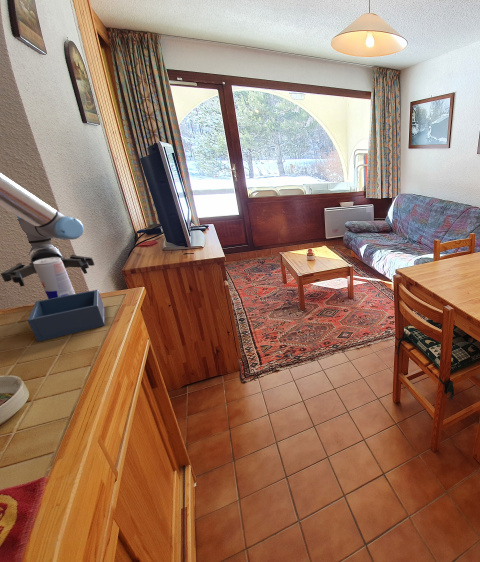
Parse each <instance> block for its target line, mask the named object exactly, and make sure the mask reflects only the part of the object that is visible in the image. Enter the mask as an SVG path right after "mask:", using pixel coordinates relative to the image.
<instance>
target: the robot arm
mask: <svg viewBox="0 0 480 562" xmlns="http://www.w3.org/2000/svg"><path fill="white" fill-rule="evenodd" d="M0 207H2V208H3V209H5V210H7V211H8V212H10V213H11V212H12V213H14V214H15V215H16V216H17V218H18V219H17V220H18V221H19V224H20V226H21V228H22V230H23V231H24V232H25V233H26V235H27V238H28V241H29V243H30V244H31V246H32V248H31V250H30V252H29V254H28V256H29V260H30V262H29V264H25V263H22V262H18V263H16V264H15V265H14V266H13V267H11V268H8V269H6V270H5V271H3V272H1V273H0V276H1V278H2V280H3V282H5V283H6V282H10V281H12V283H14V284H19V287H25V282H24V278H27V277H29V276H31V275H33V274H37V272H36V270H35V267H34V264H33V262H35V261H37V260H40V259H45V258H52V257H59V258H61V260H62V262H63V264H64V267H65V269H67V268H80V270H81V271H82V273H83V274H85V275H86V274H88V271H87V269H89V268H90V267H93V266H95V262H94V259H93V257H90V256H82V255H77V254H70V256H69V257H65V256H63V255H62V254H61V252H60V249H59V248H58V249H57V248H56V247H54V246H53V245H52V242H51V238H54V239H57V240H63V241H66V240H71V241H72V240H77V239H80V237H81V236H82V235H83V234H84V231H85V229H84V224H83V223H82V222H81V221H80V220H79V219H78V218H75V217H72V216H66V215H64V214H62V213H61V212H60V211H58V210H56V209H55V208H53V207H52V206H50V205H49V204H47V203H46V202H45V201H43V200H42V199H40V198H38V197H37V196H36V195H35V194H33V193H31V192H30V191H28V190H27V189H25V188H24V187H22V186H21V185H20V184H18V183H17V182H15V181H13V180H12V179H11V178H9V177H7V176H6V175H5V174H3V173H2V172H0ZM12 213H11V214H12Z"/></svg>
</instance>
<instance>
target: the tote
mask: <svg viewBox="0 0 480 562" xmlns="http://www.w3.org/2000/svg"><path fill="white" fill-rule="evenodd" d="M105 310H106V309H105V305H104V302H103V299H102V297H101V294H100V291H99V289H94V290H89V291H82V292H78V293H77V292H76V293H75V294H72V295H67V296H61V297H56V298H51V299H48V298H47V299H40V300H36V301H35V302H34V305H33V307H32V308H31V312H30V314H29V315H28V318H27V322H28V324H29V327H30V328H31V331H32V332H33V335H34V337H35V339H36V342H38V343H39V342H43V341H47V340H51V339H56V338H59V337H65V336H68V335H71V334H76V333H79V332H84V331H88V330H93V329H96V328H100V327H105V326H106V324H105V323H106V321H105V319H106V318H105V316H106V315H105V314H106V313H105V312H106V311H105Z"/></svg>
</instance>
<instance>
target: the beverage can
mask: <svg viewBox="0 0 480 562" xmlns="http://www.w3.org/2000/svg"><path fill="white" fill-rule="evenodd" d="M33 264H34V267H35V270H36V272H37V273H36V274H37V276H38V279H39V281H40V283H41V286H42V288H43V290H44V292H45V295H46V297H47V299H51V298H56V297H61V296H67V295H72V294H76V291H75V289H74V287H73V285H72V282H71V279H70V277H69V275H68V272H67V268H65V267H64V264H63V262H62V260H61V258H59V257H52V258H45V259H40V260H37V261H35V262H33Z"/></svg>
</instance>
